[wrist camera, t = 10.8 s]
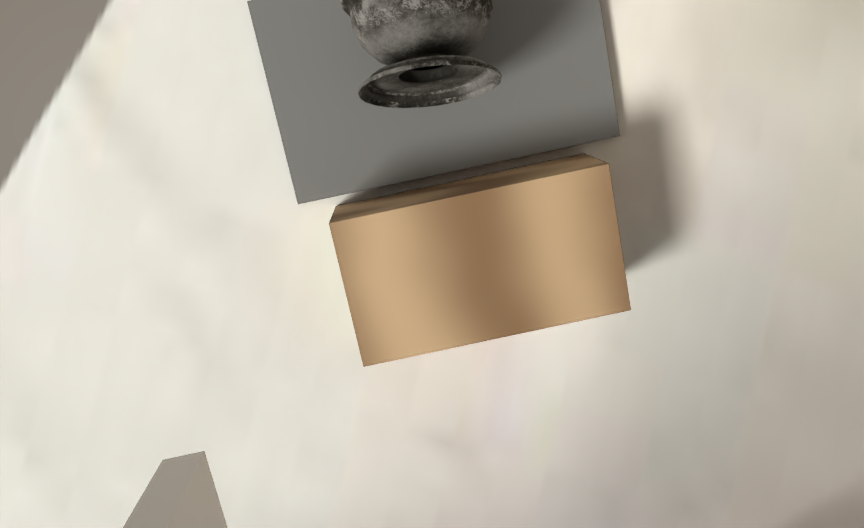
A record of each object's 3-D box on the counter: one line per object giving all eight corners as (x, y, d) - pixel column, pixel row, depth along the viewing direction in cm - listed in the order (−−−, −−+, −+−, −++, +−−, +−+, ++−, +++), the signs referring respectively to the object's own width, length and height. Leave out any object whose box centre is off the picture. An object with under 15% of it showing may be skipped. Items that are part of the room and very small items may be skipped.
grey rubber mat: (299, 202, 35) (298, 204, 34) (249, 2, 33) (247, 1, 32) (616, 134, 35) (619, 135, 34) (586, -70, 33) (589, -72, 32)
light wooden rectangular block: (366, 334, 36) (363, 366, 32) (335, 206, 35) (328, 223, 31) (605, 284, 36) (630, 309, 32) (584, 153, 35) (608, 163, 31)
